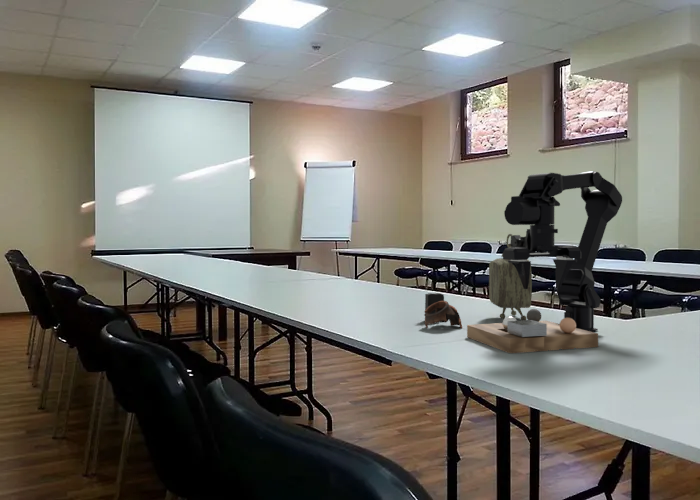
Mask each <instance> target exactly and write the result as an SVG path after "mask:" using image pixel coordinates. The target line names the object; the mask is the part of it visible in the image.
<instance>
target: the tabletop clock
mask: <svg viewBox="0 0 700 500" xmlns="http://www.w3.org/2000/svg"><path fill="white" fill-rule="evenodd" d="M511 236H513V234H512V233H508V234H507V236H506V246H507V248H511V242H510V243H509V238H511ZM508 260H509V259H503V252H502V253H501V258H496V259H493V260H492V261H490V262H489V265H488V289H489V290H488V293H489V294H488V296H489V300H490V301H489V302H491V303H492V304H493V305H495V306H497V307H498V308H501V309H502V313H500V314H499V319H502V320H504V319H505V318H506V314H505V312H506V310H507V309H511V311H510V315H511V316H512V317H514V316H516V315H517V312H518V314H520V321H521V320H527V315H524V314H523V311H522V310H521V309H529V308H531V306H532V294H533V293H532V291H533V290H532V289H533V288H532V287H533V281H532V280H533V277H532V276H533V275H532V264H531V265H530V276H529V285H528V289H524V288H523V285H522V282H521V279H520V277H519V274H518V272H517V270H516V268H515V266H514V265H513V264H512V263H508ZM527 261H530V260H529V258H528V259H527Z"/></svg>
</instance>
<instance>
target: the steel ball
mask: <svg viewBox="0 0 700 500" xmlns="http://www.w3.org/2000/svg"><path fill="white" fill-rule="evenodd" d="M508 321H518V320H517V318H515V317H514V316H512V315H511V316H505V318H504V319H502V323H503V327H504V329H505V330H507V331H508Z"/></svg>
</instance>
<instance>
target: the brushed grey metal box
mask: <svg viewBox="0 0 700 500" xmlns="http://www.w3.org/2000/svg"><path fill="white" fill-rule="evenodd" d="M508 333H511V334H514V335H517V336H521V337H530V336H545V335H547V324H545V323H541V322H537V321H533V320H528V319H526V320H521V319H520V320H517V321H508Z"/></svg>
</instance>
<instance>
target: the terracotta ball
mask: <svg viewBox="0 0 700 500" xmlns="http://www.w3.org/2000/svg"><path fill="white" fill-rule="evenodd" d="M559 324H560V329H561V330H562V331H563V332H565V333H572V332H573V331H574V330H575V329H576V323H575V321H574V320H573V319H572V318H564V317H563V318H562V319H561V320H560V322H559Z"/></svg>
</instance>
